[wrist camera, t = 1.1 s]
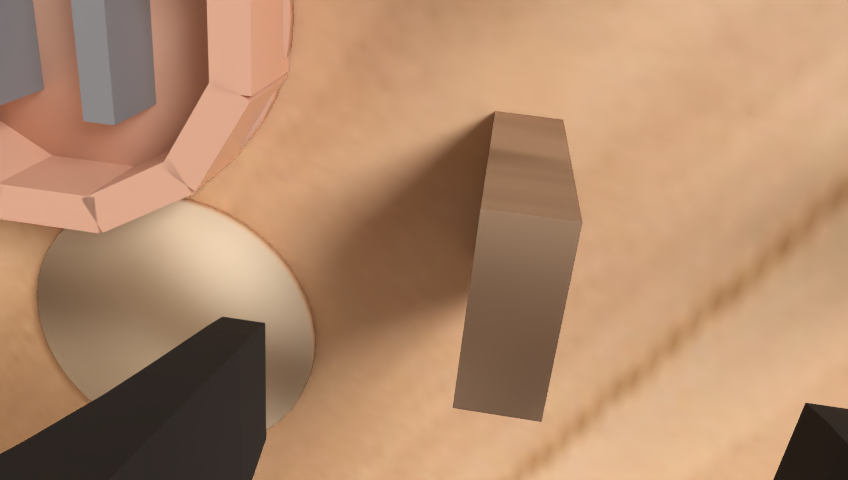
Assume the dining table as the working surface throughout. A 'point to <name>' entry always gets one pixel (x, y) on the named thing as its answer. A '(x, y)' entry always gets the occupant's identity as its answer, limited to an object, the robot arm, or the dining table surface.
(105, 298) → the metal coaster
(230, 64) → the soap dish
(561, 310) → the brown rectangular block
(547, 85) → the dining table surface
